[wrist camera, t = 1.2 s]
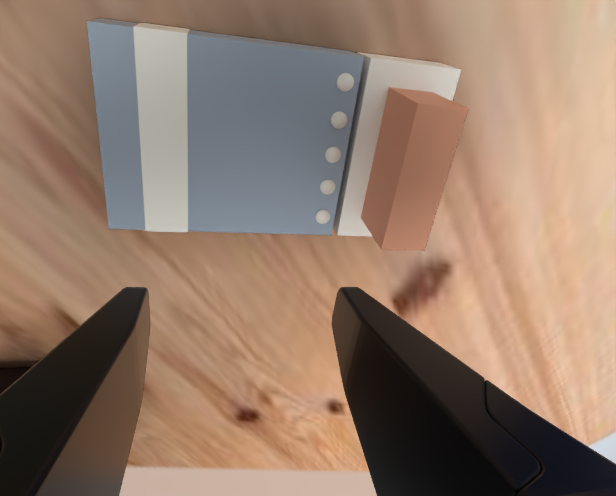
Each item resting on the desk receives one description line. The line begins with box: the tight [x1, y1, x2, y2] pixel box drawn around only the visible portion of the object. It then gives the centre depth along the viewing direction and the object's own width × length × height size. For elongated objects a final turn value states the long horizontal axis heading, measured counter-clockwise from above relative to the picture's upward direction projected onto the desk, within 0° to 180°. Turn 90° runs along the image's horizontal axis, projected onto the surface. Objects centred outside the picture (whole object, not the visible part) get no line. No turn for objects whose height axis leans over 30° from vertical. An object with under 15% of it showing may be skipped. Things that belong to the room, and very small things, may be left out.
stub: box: [333, 52, 468, 251], centre depth 19 cm, size 8×4×5 cm, turn 172°
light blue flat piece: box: [87, 18, 364, 235], centre depth 18 cm, size 8×10×2 cm
